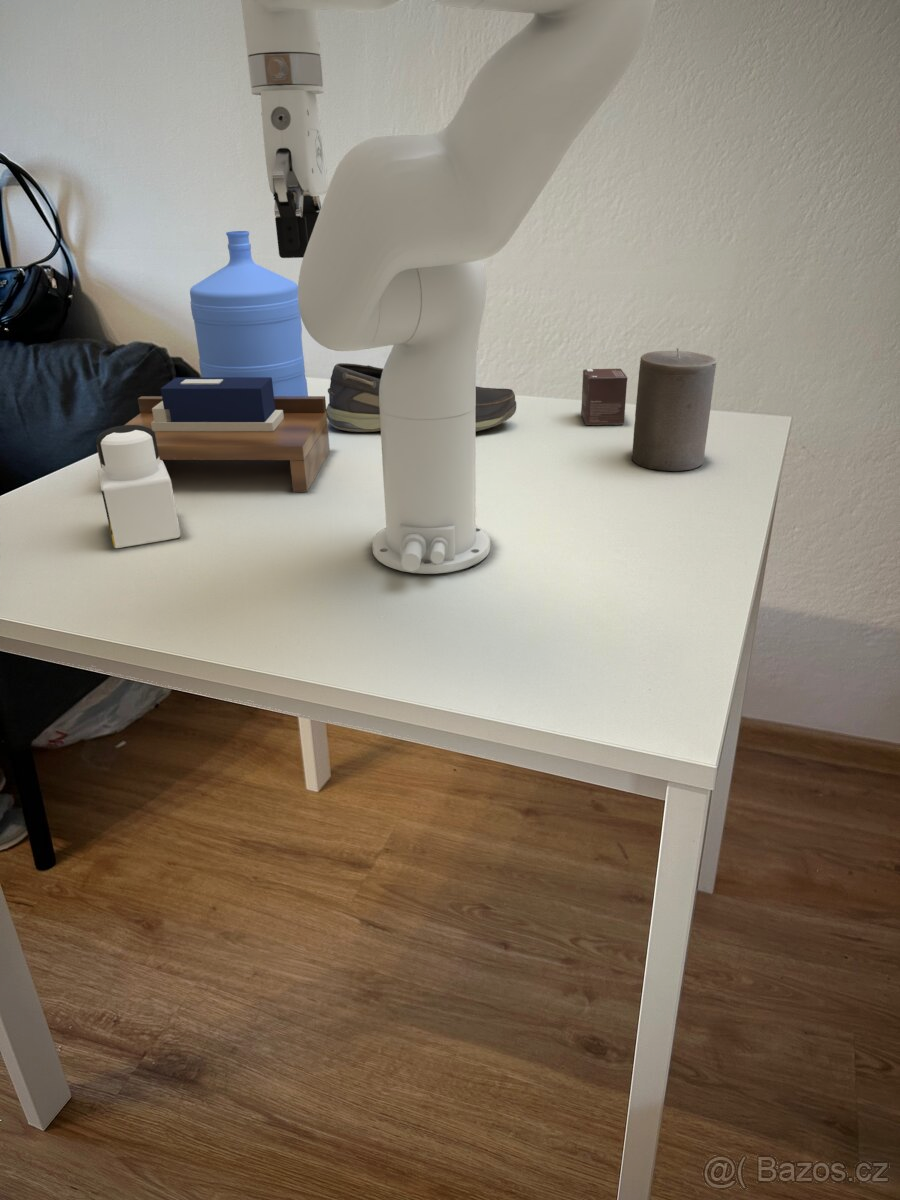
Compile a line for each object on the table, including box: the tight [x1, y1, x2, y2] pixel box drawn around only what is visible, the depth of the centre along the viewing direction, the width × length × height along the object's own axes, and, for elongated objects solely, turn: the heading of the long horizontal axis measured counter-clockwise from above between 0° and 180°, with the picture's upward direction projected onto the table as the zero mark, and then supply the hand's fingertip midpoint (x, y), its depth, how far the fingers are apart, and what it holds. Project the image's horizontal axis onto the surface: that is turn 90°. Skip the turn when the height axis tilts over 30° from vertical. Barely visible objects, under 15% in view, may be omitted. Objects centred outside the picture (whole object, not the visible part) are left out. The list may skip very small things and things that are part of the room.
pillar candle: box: [630, 347, 718, 472], centre depth 114 cm, size 10×10×15 cm
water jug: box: [189, 230, 309, 396], centre depth 127 cm, size 16×16×28 cm
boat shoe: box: [326, 362, 517, 433], centre depth 130 cm, size 11×29×11 cm, turn 89°
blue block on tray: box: [151, 377, 284, 432], centre depth 113 cm, size 16×6×6 cm, turn 87°
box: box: [580, 368, 628, 426], centre depth 133 cm, size 6×6×7 cm
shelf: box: [96, 395, 331, 493], centre depth 114 cm, size 16×26×8 cm, turn 87°
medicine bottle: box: [95, 424, 181, 549], centre depth 95 cm, size 7×7×12 cm
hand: (303, 253), depth 98 cm, fingers open, 9 cm apart
